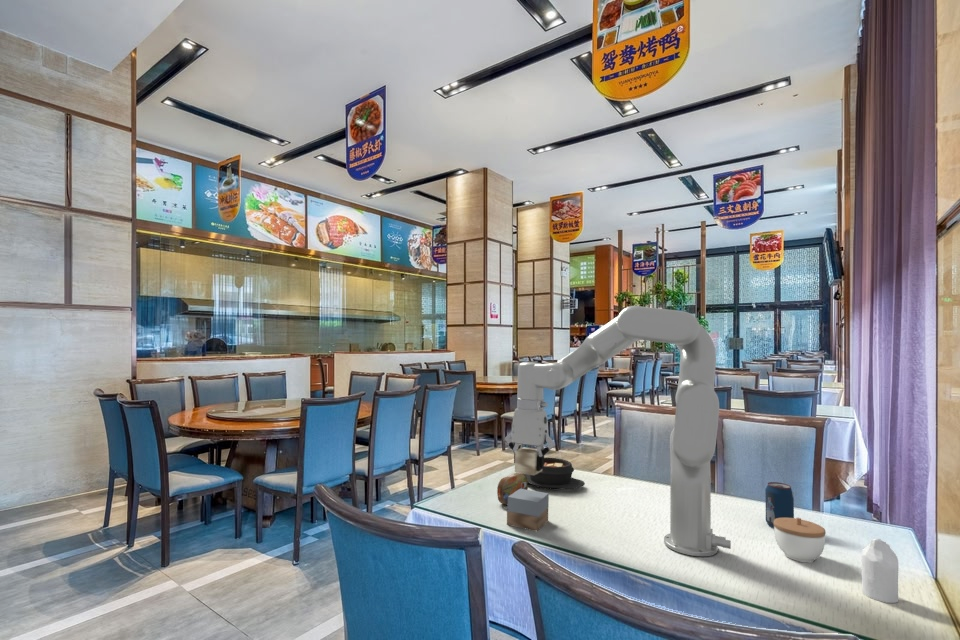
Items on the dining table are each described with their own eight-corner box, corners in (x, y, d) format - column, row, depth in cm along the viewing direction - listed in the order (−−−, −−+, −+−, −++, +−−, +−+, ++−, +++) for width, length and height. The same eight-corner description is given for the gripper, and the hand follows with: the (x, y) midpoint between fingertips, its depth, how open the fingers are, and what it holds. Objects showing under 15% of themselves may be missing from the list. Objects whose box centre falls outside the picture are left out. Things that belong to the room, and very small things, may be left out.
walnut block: (548, 521, 139) (548, 507, 139) (536, 532, 131) (536, 517, 132) (519, 515, 144) (519, 502, 144) (506, 525, 136) (507, 511, 136)
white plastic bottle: (891, 535, 102) (903, 545, 97) (892, 593, 102) (904, 606, 96) (856, 530, 104) (867, 540, 99) (857, 587, 104) (868, 600, 98)
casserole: (507, 485, 174) (508, 461, 175) (530, 474, 190) (531, 452, 190) (573, 498, 161) (573, 472, 161) (592, 485, 177) (592, 462, 177)
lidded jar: (764, 547, 124) (764, 510, 125) (807, 548, 124) (806, 511, 124) (790, 566, 113) (789, 525, 114) (836, 567, 113) (836, 527, 114)
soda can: (796, 527, 138) (795, 485, 139) (791, 533, 133) (790, 489, 134) (768, 521, 143) (768, 480, 144) (763, 527, 138) (762, 484, 139)
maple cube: (542, 470, 139) (542, 449, 140) (534, 475, 134) (534, 453, 134) (523, 467, 142) (523, 447, 143) (514, 472, 137) (515, 450, 137)
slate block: (548, 507, 140) (548, 493, 140) (537, 517, 132) (537, 502, 132) (519, 502, 144) (519, 488, 144) (507, 511, 136) (507, 496, 136)
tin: (503, 508, 149) (503, 480, 150) (495, 506, 151) (495, 478, 152) (528, 496, 161) (529, 471, 162) (520, 494, 163) (521, 469, 164)
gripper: (562, 406, 138) (561, 469, 137) (508, 401, 147) (507, 461, 146) (553, 409, 132) (552, 475, 131) (497, 403, 140) (496, 466, 139)
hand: (528, 467), depth 138 cm, fingers closed on maple cube, 6 cm apart
